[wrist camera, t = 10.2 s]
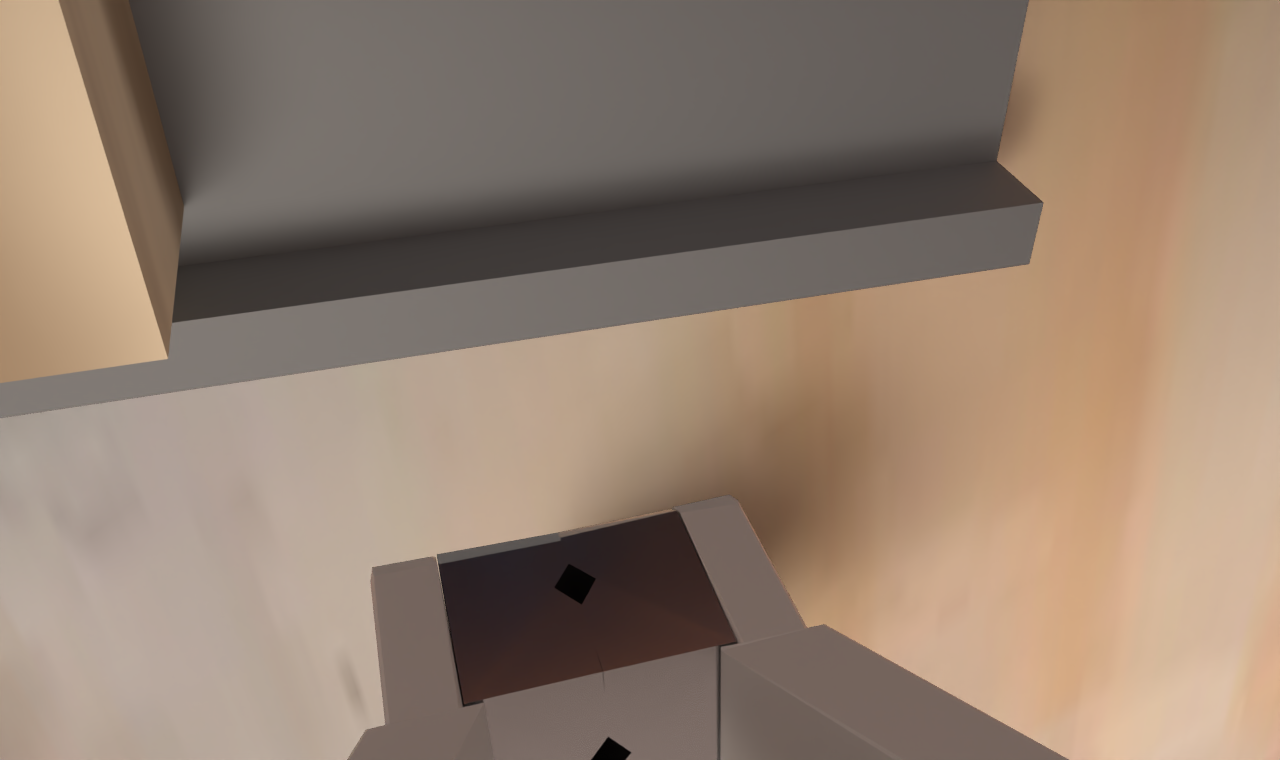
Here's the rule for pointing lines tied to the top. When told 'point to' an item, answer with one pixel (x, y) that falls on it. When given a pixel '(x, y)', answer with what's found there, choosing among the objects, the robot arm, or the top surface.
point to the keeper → (82, 193)
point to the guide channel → (554, 169)
